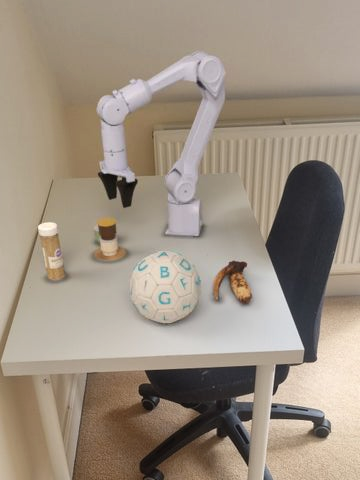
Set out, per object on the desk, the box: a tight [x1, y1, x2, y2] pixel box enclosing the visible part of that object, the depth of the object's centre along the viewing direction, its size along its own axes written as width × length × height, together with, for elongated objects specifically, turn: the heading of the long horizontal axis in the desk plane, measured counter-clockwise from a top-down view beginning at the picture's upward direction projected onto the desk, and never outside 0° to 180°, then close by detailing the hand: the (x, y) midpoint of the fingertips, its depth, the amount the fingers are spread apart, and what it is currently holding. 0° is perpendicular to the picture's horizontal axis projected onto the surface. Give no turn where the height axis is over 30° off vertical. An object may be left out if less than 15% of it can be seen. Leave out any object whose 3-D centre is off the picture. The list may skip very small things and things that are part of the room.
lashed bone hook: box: [212, 260, 253, 305], centre depth 136 cm, size 9×5×18 cm
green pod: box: [93, 224, 101, 244], centre depth 161 cm, size 5×5×4 cm
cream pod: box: [99, 234, 119, 256], centre depth 153 cm, size 5×5×4 cm
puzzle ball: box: [128, 250, 202, 325], centre depth 124 cm, size 15×15×15 cm
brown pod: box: [96, 217, 117, 240], centre depth 151 cm, size 5×5×4 cm
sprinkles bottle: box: [37, 221, 66, 281], centre depth 142 cm, size 5×5×13 cm
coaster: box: [93, 246, 127, 261], centre depth 155 cm, size 8×8×1 cm
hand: (119, 202), depth 156 cm, fingers open, 7 cm apart
